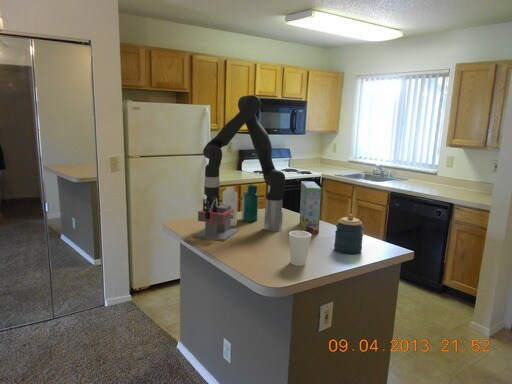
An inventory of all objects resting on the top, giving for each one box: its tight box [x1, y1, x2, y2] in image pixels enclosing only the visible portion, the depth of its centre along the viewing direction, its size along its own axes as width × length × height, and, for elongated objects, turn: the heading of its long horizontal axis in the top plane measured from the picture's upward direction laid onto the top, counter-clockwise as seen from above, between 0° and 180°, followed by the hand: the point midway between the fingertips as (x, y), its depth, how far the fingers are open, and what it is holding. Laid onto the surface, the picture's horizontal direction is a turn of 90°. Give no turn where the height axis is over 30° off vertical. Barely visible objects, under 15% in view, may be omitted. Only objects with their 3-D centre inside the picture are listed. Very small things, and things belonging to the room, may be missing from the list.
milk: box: [222, 186, 238, 227], centre depth 216 cm, size 6×6×22 cm
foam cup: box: [288, 230, 312, 267], centre depth 162 cm, size 10×9×13 cm
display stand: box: [193, 203, 240, 242], centre depth 198 cm, size 19×17×14 cm
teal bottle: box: [241, 183, 259, 223], centre depth 228 cm, size 10×8×22 cm
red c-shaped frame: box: [197, 209, 234, 224], centre depth 197 cm, size 14×14×5 cm
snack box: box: [299, 180, 322, 235], centre depth 215 cm, size 22×9×26 cm, turn 2°
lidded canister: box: [333, 214, 365, 255], centre depth 181 cm, size 13×13×18 cm
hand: (211, 217), depth 191 cm, fingers open, 8 cm apart
